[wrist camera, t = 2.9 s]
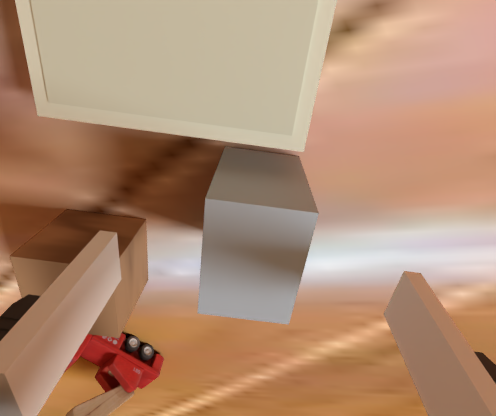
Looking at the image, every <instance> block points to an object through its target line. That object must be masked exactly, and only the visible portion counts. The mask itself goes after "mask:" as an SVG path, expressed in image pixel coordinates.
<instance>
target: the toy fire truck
mask: <svg viewBox="0 0 496 416" xmlns="http://www.w3.org/2000/svg"><path fill="white" fill-rule="evenodd" d="M139 345H140V341H139V339H138V338H137V337H136V336H130V337H128V338H126V335H125V334H123V333H121V335H120V337H119V338H115V337H107V336H99V335H91V334H87V336H86V337H85V339H84V341H83V342H82V344H81V345H80V347H79V349H78V350H77V352H76V353H75V355H74V357H73V358H72V360H71V362H70V363H69V365H68V366H67V368H66V370H67V369H68V368H69V367H71V366H72V365H73V363H75V362H76V361H77V360H78V358H79V357H80V356H81V357H82V358H84V359H86V360H88V361H90V362H92V363H93V364H95V365H97V366H99V367H100V368H99V370H98V372H97V374H96V376H95V378H96V380H97V381H98V383H99V384H100V385H101V386H102V388H103V389H104V390H105V393H103V394H101V395H99V396H96V397H94V398H92V399H90V400H88V401H86V402H84V403H82V404H79V405H77V406H75V407H74V408H73V409H71V410H70V411H69V412H68V413H67V414H66V416H108V415H109V414H111V413H112V412H113V411H114V410H116V409H117V408H118V407H119V406H121V405H122V404H123V403H124V402H126V401H127V400H128V399H129V398H131V397H132V396H133V395H134V390H135V389H136V388H137V387H139V388H141V389H142V388H144V387H145V386H146V385H148V384H149V383H150V382H152V381H153V380H155V379H156V378H157V377H158V376H159V375H160V370H161V367H162V363H163V360H164V358H163V357H162V356H161V355H159V354H156V355H153V354H154V349H153V347H152V346H151V345H149V344H145V345H143V346H142V347H140V348H139ZM66 370H65V371H66ZM65 371H64V372H65Z"/></svg>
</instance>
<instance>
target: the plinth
mask: <svg viewBox="0 0 496 416" xmlns="http://www.w3.org/2000/svg"><path fill="white" fill-rule="evenodd" d="M336 2H337V0H15V3H16V8H17V13H18V18H19V23H20V29H21V34H22V39H23V44H24V49H25V54H26V59H27V64H28V69H29V74H30V80H31V85H32V90H33V95H34V100H35V105H36V110H37V115H38V116H41V117H48V118H56V119H63V120H71V121H78V122H85V123H93V124H100V125H108V126H115V127H122V128H130V129H137V130H145V131H152V132H159V133H167V134H174V135H182V136H189V137H196V138H204V139H211V140H219V141H226V142H233V143H241V144H248V145H256V146H263V147H270V148H278V149H285V150H293V151H300V152H304V148H305V144H306V139H307V135H308V130H309V126H310V121H311V117H312V112H313V107H314V103H315V98H316V94H317V89H318V85H319V80H320V75H321V71H322V66H323V62H324V57H325V53H326V48H327V43H328V39H329V34H330V30H331V25H332V21H333V16H334V11H335V7H336Z"/></svg>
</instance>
